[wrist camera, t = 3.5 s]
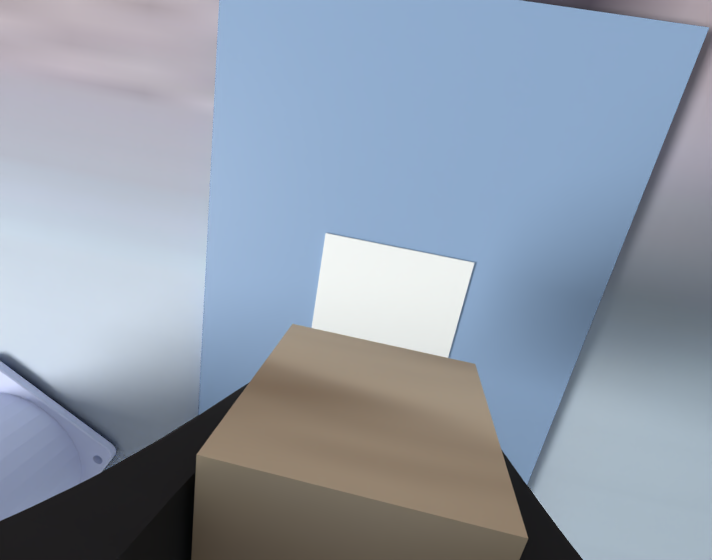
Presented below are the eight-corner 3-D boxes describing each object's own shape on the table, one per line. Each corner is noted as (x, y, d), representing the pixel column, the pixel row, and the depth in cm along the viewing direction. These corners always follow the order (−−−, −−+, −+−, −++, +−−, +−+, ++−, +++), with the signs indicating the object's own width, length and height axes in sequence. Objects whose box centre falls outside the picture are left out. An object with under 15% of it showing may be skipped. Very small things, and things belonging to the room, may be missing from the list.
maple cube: (431, 506, 9) (443, 737, 6) (274, 467, 10) (186, 660, 6) (474, 363, 8) (528, 538, 4) (292, 323, 9) (196, 454, 5)
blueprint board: (494, 549, 19) (497, 563, 18) (200, 474, 20) (193, 484, 19) (695, 33, 12) (711, 26, 11) (229, -34, 13) (220, -45, 12)
